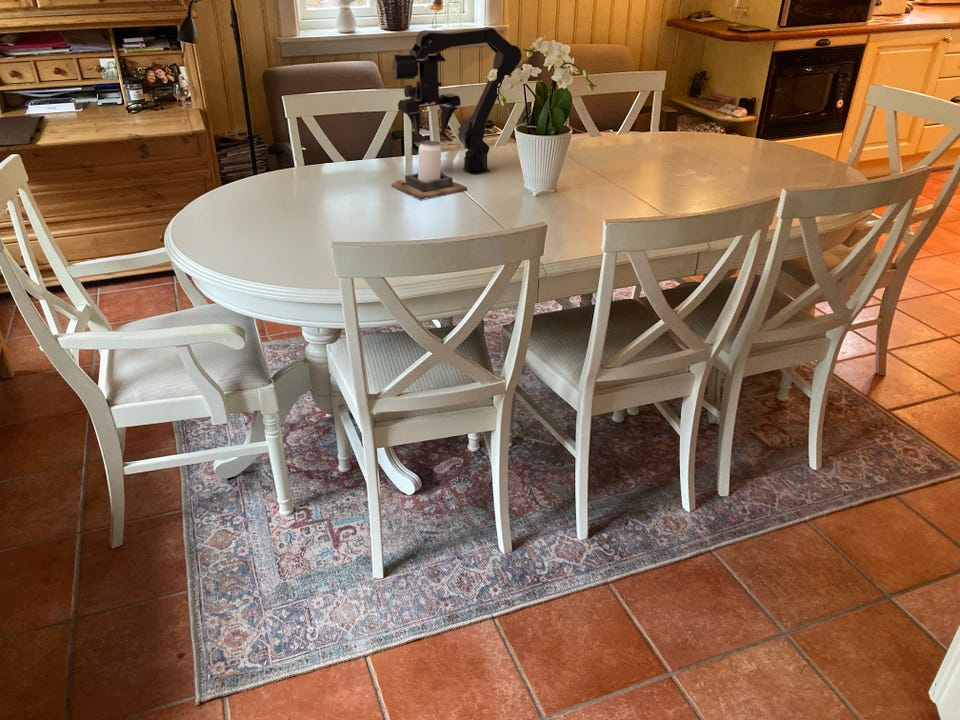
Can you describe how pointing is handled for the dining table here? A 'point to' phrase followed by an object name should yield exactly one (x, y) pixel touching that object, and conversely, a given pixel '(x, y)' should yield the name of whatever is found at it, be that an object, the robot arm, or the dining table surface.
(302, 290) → the dining table surface
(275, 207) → the dining table surface
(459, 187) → the socket block
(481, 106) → the robot arm
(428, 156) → the can
